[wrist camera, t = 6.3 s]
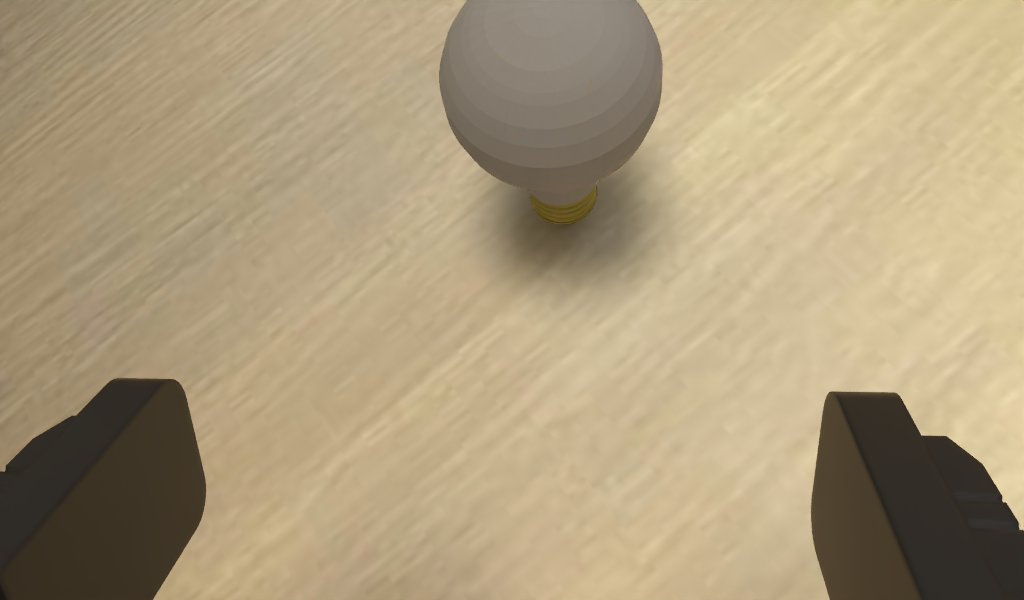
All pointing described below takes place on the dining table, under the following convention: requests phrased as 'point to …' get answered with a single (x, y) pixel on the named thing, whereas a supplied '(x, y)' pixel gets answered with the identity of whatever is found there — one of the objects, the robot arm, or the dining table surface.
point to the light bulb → (551, 93)
